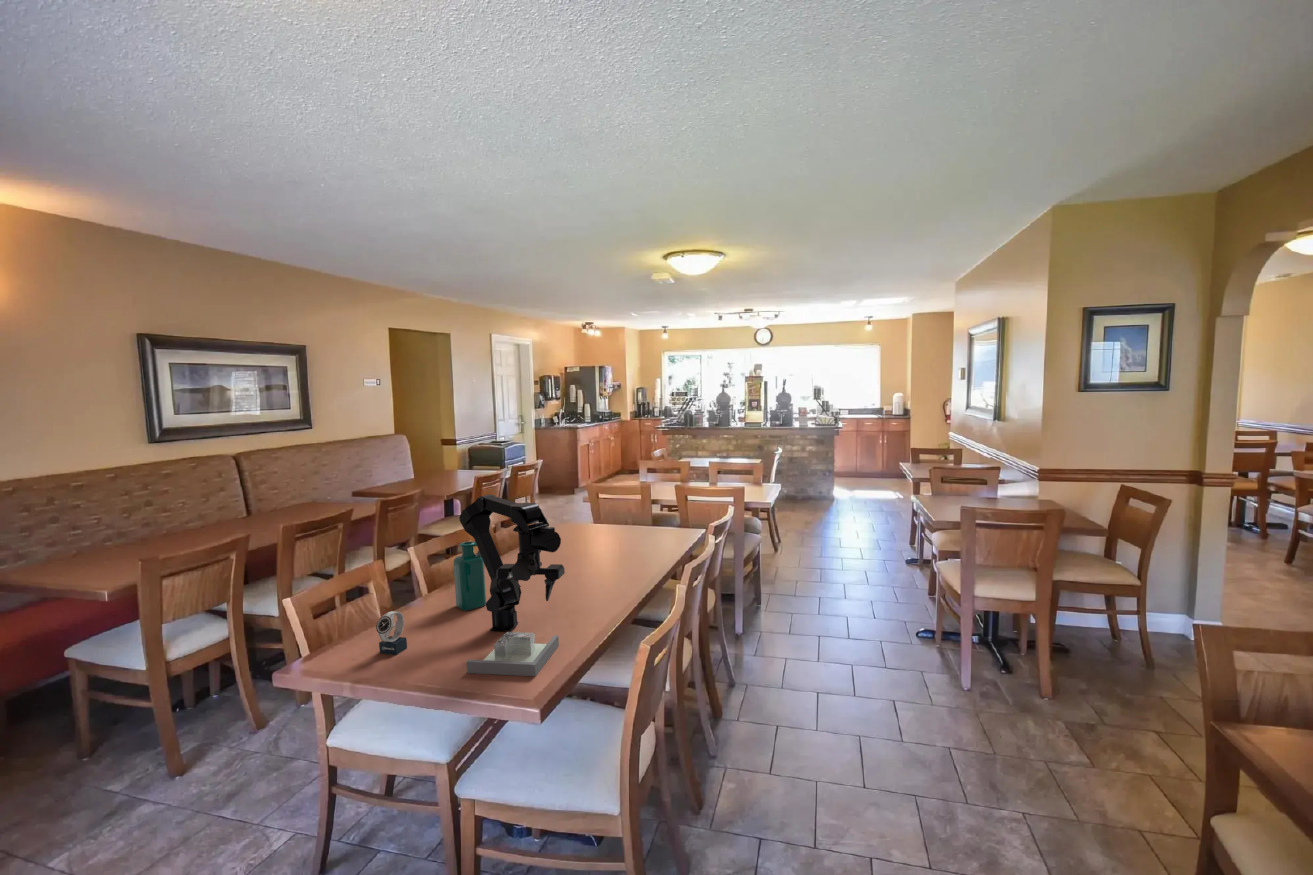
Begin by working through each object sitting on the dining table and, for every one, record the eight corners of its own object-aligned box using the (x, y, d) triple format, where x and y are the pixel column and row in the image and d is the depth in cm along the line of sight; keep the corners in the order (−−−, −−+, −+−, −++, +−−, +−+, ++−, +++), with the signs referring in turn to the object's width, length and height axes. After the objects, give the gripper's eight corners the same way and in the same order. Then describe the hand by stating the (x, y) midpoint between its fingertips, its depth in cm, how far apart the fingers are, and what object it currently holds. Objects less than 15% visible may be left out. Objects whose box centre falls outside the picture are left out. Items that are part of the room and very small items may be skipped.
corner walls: (466, 673, 144) (466, 661, 144) (496, 643, 161) (496, 633, 161) (535, 676, 141) (535, 664, 141) (558, 645, 158) (558, 635, 158)
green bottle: (463, 612, 186) (459, 546, 184) (454, 605, 193) (450, 542, 191) (492, 604, 192) (488, 541, 190) (482, 598, 199) (478, 536, 197)
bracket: (507, 649, 156) (506, 631, 156) (535, 650, 155) (534, 632, 155) (495, 662, 148) (494, 644, 148) (524, 664, 147) (522, 645, 147)
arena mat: (474, 670, 145) (474, 669, 145) (501, 643, 161) (501, 642, 161) (533, 673, 143) (533, 672, 143) (554, 645, 158) (554, 644, 158)
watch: (374, 656, 156) (371, 617, 155) (395, 643, 164) (392, 606, 163) (391, 658, 154) (388, 619, 153) (411, 645, 162) (408, 608, 161)
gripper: (486, 555, 156) (489, 610, 157) (550, 555, 153) (553, 611, 154) (503, 544, 167) (506, 595, 168) (563, 544, 164) (566, 597, 165)
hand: (532, 600), depth 164 cm, fingers open, 9 cm apart
